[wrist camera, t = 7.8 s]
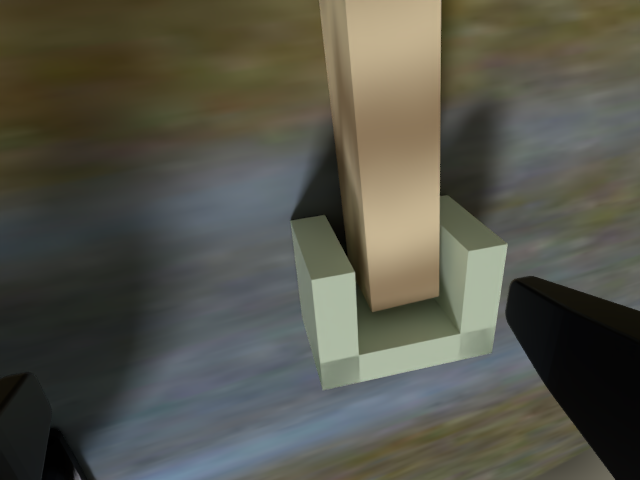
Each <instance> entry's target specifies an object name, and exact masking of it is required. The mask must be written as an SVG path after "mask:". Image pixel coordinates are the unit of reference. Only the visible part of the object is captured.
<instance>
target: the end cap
mask: <svg viewBox="0 0 640 480" xmlns="http://www.w3.org/2000/svg"><path fill="white" fill-rule="evenodd" d="M290 222H291V230H292V238H293V246H294V255H295V263H296V271H297V279H298V287H299V296H300V304H301V312H302V318H303V322H304V325H305V329H306V332H307V336H308V339H309V343H310V346H311V350H312V354H313V357H314V361H315V364H316V368H317V371H318V375H319V378H320V382H321V385H322V389H323V390H326V389H331V388H335V387H340V386H344V385H349V384H353V383H358V382H363V381H367V380H372V379H376V378H381V377H385V376H390V375H394V374H399V373H403V372H408V371H412V370H417V369H421V368H426V367H430V366H435V365H439V364H444V363H448V362H453V361H457V360H462V359H467V358H471V357H476V356H480V355H485V354H489V353H492V348H493V341H494V334H495V327H496V320H497V313H498V307H499V300H500V293H501V286H502V279H503V272H504V265H505V259H506V252H507V245H508V244H507V243H506V242H504V241H503V240H502V239H501V238H500V237H498V236H497V235H496V234H495V233H493V232H492V231H491V230H490V229H489V228H487V227H486V226H485V225H484V224H482V223H481V222H480V221H479V220H478V219H476V218H475V217H474V216H473V215H471V214H470V213H469V212H468V211H467V210H465V209H464V208H463V207H462V206H460V205H459V204H458V203H457V202H456V201H454V200H453V199H452V198H451V197H449V196H448V195H444V196H440V229H439V296H438V297H434V298H430V299H426V300H421V301H417V302H413V303H409V304H405V305H401V306H396V307H392V308H388V309H384V310H380V311H375V312H372V311H371V309H370V307H369V305H368V303H367V301H366V299H365V297H364V295H363V293H362V291H361V289H360V287H359V285H358V284H357V282H355V271H354V269H353V267H352V265H351V264H350V262H349V260H348V258H347V256H346V254H345V252H344V250H343V248H342V246H341V245H340V243H339V241H338V239H337V237H336V235H335V233H334V231H333V229H332V227H331V226H330V224H329V222H328V220H327V218H326V216H325V215H321V216H315V217H309V218H303V219H297V220H291V221H290Z"/></svg>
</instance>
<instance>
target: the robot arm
mask: <svg viewBox="0 0 640 480" xmlns="http://www.w3.org/2000/svg"><path fill="white" fill-rule="evenodd" d="M505 315H506V320H507V323H508V325H509V326H510V328H511V330H512V331H513V333H514V335H515V336H516V338H517V340H518V341H519V343H520V345H521V346H522V348H523V350H524V351H525V353H526V355H527V356H528V358H529V360H530V361H531V363H532V365H533V366H534V368H535V369H536V371H537V373H538V374H539V376H540V378H541V379H542V381H543V382H544V384H545V385H546V387H547V388H548V390H549V391H550V393H551V394H552V395H553V397H554V398H555V399H556V401H557V402H558V403H559V405H560V406H561V407H562V409H563V410H564V411H565V413H566V414H567V416H568V417H569V418H570V420H571V421H572V422H573V424H574V425H575V426H576V428H577V429H578V430H579V432H580V433H581V434H582V436H583V437H584V438H585V440H586V441H587V442H588V444H589V445H590V446H591V448H592V449H593V450H594V452H595V453H596V454H597V456H598V457H599V458H600V460H601V461H602V462H603V464H604V465H605V466H606V467H607V469H608V470H609V472H610V473H611V474H612V476H613V477H614V478H615V480H640V311H638V310H635V309H632V308H629V307H626V306H623V305H620V304H617V303H614V302H611V301H608V300H605V299H601V298H598V297H595V296H592V295H589V294H586V293H583V292H580V291H577V290H574V289H571V288H568V287H565V286H562V285H559V284H556V283H553V282H550V281H547V280H544V279H541V278H538V277H534V276H527V277H522V278H517V279H514V280H512V282H511V283H510V286H509V292H508V298H507V304H506V310H505ZM51 418H52V413H51V407H50V404H49V402H48V400H47V398H46V396H45V394H44V392H43V390H42V388H41V386H40V383H39V381H38V379H37V378H36V376H35V375H34V374H33V373H30V372H25V373H20V374H15V375H9V376H6V377H3V378H2V379H0V480H87V479H86V477H85V475H84V473H83V471H82V470H81V468H80V466H79V464H78V462H77V460H76V458H75V457H74V455H73V453H72V451H71V449H70V447H69V445H68V444H67V442H66V440H65V438H64V436H63V434H62V433H61V432H60V431H59V430H57V429H50V425H51Z"/></svg>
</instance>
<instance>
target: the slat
mask: <svg viewBox="0 0 640 480" xmlns="http://www.w3.org/2000/svg"><path fill="white" fill-rule="evenodd" d="M319 5H320V14H321V23H322V32H323V41H324V50H325V59H326V67H327V76H328V85H329V94H330V103H331V112H332V121H333V130H334V138H335V147H336V156H337V165H338V174H339V183H340V192H341V201H342V209H343V218H344V227H345V236H346V245H347V254H348V260H349V262H350V264H351V265H352V267H353V269H354V271H355V280H356V282H357V284H358V285H359V287H360V289H361V291H362V293H363V295H364V297H365V299H366V301H367V303H368V305H369V307H370V309H371V311H372V312H375V311H380V310H384V309H388V308H392V307H396V306H401V305H405V304H409V303H413V302H417V301H421V300H426V299H430V298H434V297H438V296H439V229H440V90H441V0H319Z"/></svg>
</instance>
